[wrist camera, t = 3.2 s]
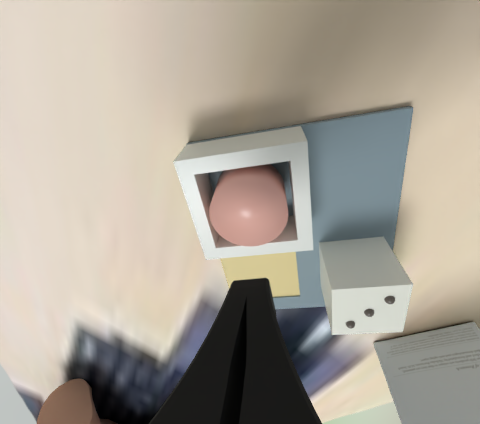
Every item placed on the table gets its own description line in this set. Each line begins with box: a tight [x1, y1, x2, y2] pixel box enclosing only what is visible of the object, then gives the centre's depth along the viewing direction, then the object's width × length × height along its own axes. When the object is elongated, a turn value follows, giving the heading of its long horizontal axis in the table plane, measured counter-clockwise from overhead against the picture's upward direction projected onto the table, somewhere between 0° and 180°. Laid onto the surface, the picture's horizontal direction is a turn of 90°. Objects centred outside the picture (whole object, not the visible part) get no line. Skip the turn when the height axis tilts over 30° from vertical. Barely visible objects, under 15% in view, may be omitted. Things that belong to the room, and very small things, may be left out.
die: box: [319, 236, 413, 335], centre depth 19 cm, size 4×4×5 cm
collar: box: [173, 126, 313, 260], centre depth 17 cm, size 7×7×3 cm
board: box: [186, 106, 413, 309], centre depth 20 cm, size 13×16×1 cm
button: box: [209, 164, 288, 246], centre depth 16 cm, size 4×4×3 cm
